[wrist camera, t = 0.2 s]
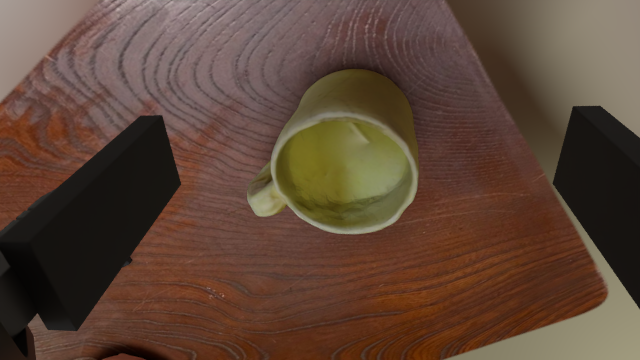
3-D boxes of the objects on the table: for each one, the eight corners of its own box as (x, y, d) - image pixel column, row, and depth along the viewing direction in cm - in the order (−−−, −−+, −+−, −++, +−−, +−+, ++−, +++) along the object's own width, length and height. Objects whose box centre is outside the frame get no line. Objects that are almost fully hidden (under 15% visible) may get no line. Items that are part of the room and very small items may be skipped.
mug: (410, 22, 26) (399, 139, 20) (435, 136, 33) (432, 246, 27) (242, 58, 31) (193, 162, 25) (296, 151, 38) (268, 249, 32)
